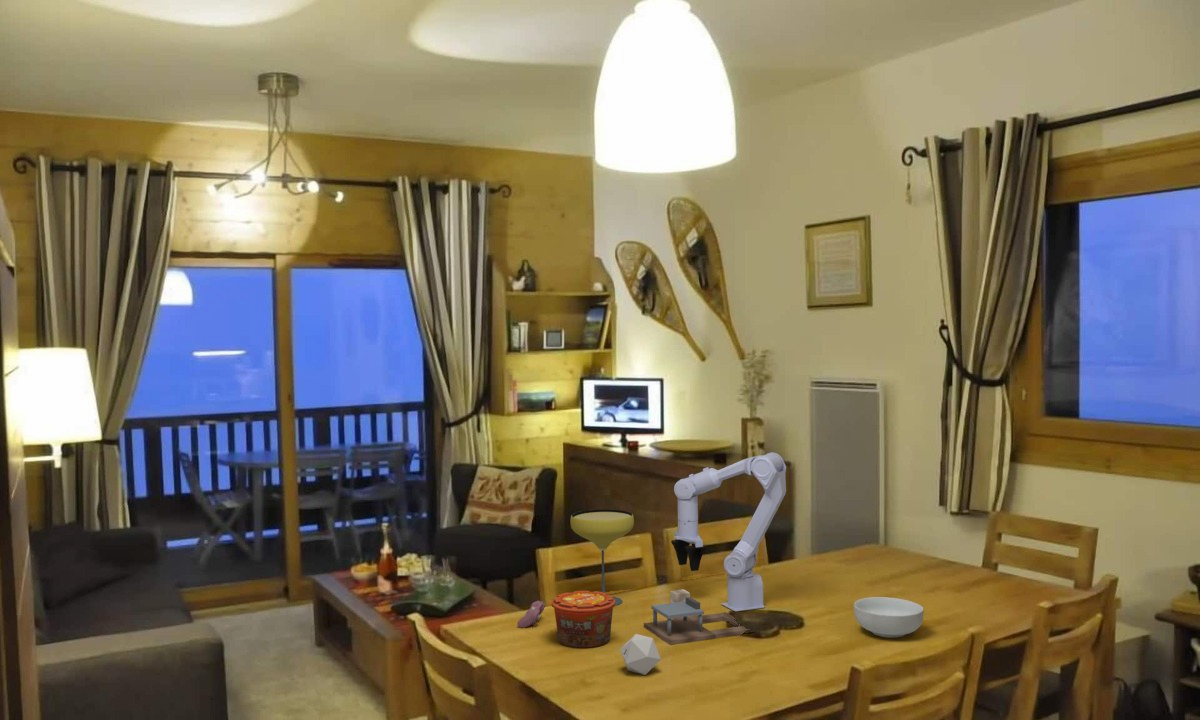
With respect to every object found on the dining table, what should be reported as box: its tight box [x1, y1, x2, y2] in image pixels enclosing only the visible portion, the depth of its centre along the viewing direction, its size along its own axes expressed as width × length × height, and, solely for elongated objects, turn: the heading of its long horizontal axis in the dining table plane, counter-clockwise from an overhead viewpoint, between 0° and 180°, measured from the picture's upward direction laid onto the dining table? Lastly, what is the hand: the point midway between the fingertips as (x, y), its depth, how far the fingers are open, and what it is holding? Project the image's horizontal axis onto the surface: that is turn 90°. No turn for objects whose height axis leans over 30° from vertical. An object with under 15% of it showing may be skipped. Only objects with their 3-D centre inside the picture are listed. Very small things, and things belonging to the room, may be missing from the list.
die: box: [619, 633, 662, 676], centre depth 221 cm, size 8×9×10 cm
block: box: [669, 589, 691, 603], centre depth 266 cm, size 4×4×5 cm
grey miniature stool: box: [650, 596, 705, 634], centre depth 249 cm, size 10×10×6 cm
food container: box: [551, 590, 616, 649], centre depth 244 cm, size 16×16×11 cm
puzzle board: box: [643, 612, 750, 646], centre depth 251 cm, size 24×16×1 cm, turn 111°
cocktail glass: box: [569, 508, 635, 607], centre depth 279 cm, size 18×18×25 cm
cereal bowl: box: [853, 596, 925, 639], centre depth 246 cm, size 17×17×7 cm
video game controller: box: [517, 600, 547, 629], centre depth 259 cm, size 10×5×7 cm, turn 170°
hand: (688, 567), depth 279 cm, fingers open, 7 cm apart
